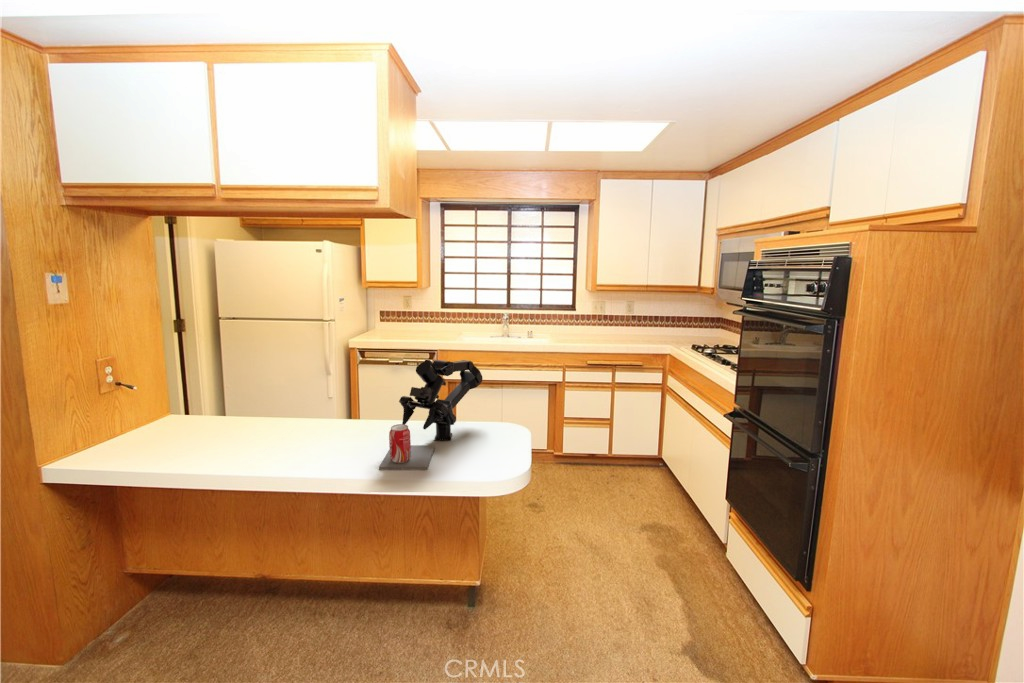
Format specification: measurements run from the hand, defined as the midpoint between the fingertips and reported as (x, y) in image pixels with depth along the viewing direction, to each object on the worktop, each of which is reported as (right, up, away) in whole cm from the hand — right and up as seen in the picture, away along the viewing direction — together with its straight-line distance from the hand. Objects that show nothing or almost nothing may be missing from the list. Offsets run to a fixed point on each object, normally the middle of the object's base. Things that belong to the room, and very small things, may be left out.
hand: (413, 426), depth 160 cm
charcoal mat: (-2, -11, -1) cm, 11 cm away
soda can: (-3, -11, -5) cm, 12 cm away
